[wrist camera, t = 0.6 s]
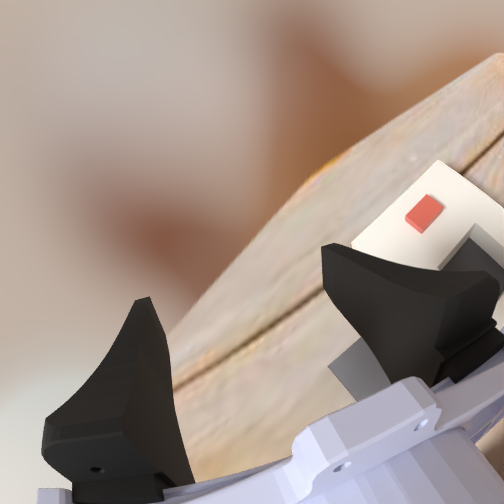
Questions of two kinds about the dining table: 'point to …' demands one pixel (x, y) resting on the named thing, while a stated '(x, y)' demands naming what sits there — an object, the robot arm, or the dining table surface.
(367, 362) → the plug
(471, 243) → the socket plate
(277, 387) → the dining table surface
